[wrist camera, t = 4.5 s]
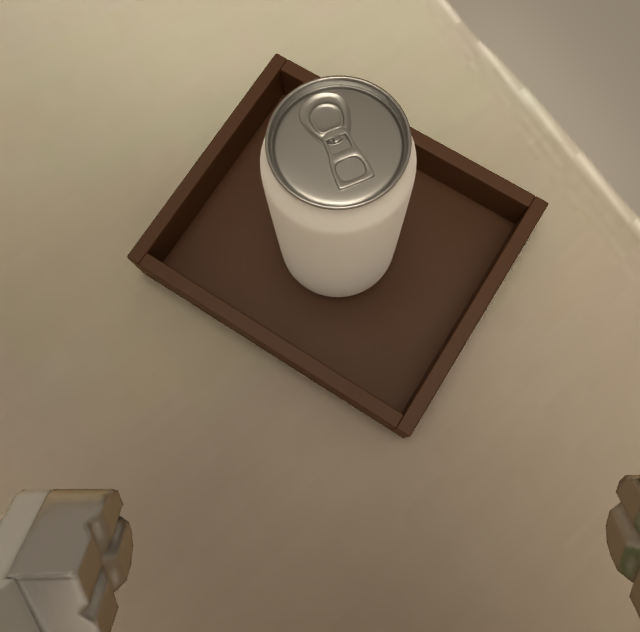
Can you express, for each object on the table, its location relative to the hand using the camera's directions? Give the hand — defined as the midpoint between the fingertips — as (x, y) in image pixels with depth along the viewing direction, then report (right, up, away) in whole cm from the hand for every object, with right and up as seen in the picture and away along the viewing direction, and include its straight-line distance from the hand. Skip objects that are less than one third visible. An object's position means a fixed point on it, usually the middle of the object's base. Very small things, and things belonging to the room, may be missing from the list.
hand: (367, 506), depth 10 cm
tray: (0, +7, +25) cm, 26 cm away
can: (0, +7, +25) cm, 26 cm away
